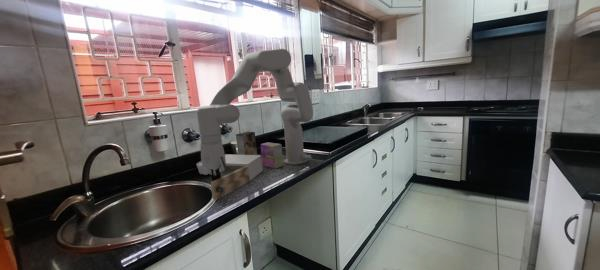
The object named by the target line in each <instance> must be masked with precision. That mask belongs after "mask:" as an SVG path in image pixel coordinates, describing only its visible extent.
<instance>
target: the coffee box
mask: <svg viewBox="0 0 600 270" xmlns="http://www.w3.org/2000/svg"><path fill="white" fill-rule="evenodd" d="M235 138H236V148H237V155H258V149H257V148H258V147H257V140H256V132H255V131H245V132H240V133H236V134H235Z"/></svg>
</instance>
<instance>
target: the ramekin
mask: <svg viewBox="0 0 600 270" xmlns="http://www.w3.org/2000/svg"><path fill="white" fill-rule="evenodd" d="M196 167H197V169H198V173H199V174H200V175H202V174H203V175H204V176H207V175H208V174H209V175H211V174H210V171H209V169H208V168H205V167H203V166H202V161H201V160H200V161H199V162H197V163H196Z"/></svg>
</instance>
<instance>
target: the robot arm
mask: <svg viewBox="0 0 600 270" xmlns="http://www.w3.org/2000/svg"><path fill="white" fill-rule="evenodd" d="M291 63H292V56H291V53H290V51H288V50H287V49H285V48H278V49H268V50H259V51H254V52H253V51H252V52H249V53H247V54H245V55H244V56H243V58H242V60H241V61H240V63H239V65H238V67H237V69H236V70H235V72H234V74H233V76H232V77H231V79H230V80H229V81H228V82H227V83H225V84H224V85H223V87H222V88H221V89H219V90H218V91H217V92H216V94H215V96H214V97H213V99H212V100H211V102H210V104H209V106H201V107H198V108H197V109H196V116H197V123H198V129H199V137H200V162H201V161H202V166H203V167H205V168H208V169H209V171H210V174H209V175H211V176H210V177H211V182H212V181H215V180H217V179H219V178H221V172H223V171H225V169H224V167H225V166H226V159H225V155H226V153H225V150H224V145H223V139H222V133H221V124H232V123H235V122H237V121H238V120H239V119H240V115H241V113H240V110H239V108H238V107H237V106H236V105H234V104H231V103H232V102H233V101H234V100H236V99H237V98H239V97H240V96H243V95H245V94H246V93H247V92H249V91H250V90H251V89H252V87H253V85H254V82H255V81H256V79H257V77H258V75H259V73H264V72H265V73H266V72H268V73H270V74H271V76H272V77H273V80H274V82H275V86H276V89H277V92H278V96H279V99H280V100H281V101H282V102H284V103H286V104H284V105H283V106H282V108H281V109H280V114H281V115H280V117H281V120H282V124H283V129H284V141H285V142H284V143H285V154H286V156H285V159H283V164H285V165H289V166H296V165H302V164H304V163H306V162H307V161H308V160H312V155H311V154H306V152H305V151H304V139H303V127H302V124H301V123H309V122H311V120H313V117H314V109H313V104H312V99H311V95H310V90H309V88H308V85H306V84H305V83H303V82H301V81H299V82H294V81H293V77H292V74H291V70H290V69H289V67H290V65H291Z"/></svg>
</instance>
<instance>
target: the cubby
mask: <svg viewBox="0 0 600 270" xmlns="http://www.w3.org/2000/svg"><path fill="white" fill-rule="evenodd" d="M225 159H226V166H225V167H224V169H225V171H223V172H221V177H223V176H225V175H227V174H230V173H232V172H234V171H236V170H238V169H240V168H243V167H245V166H248V169H249V178H250V181H252V180H253V179H255V178H256V177H257V176H258V175H259V174H261V173H262V172H263V171H264V169H263V167H264V165H263V161H262V154H257V155H238V154H229V153H228V154H227V153H225Z"/></svg>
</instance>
